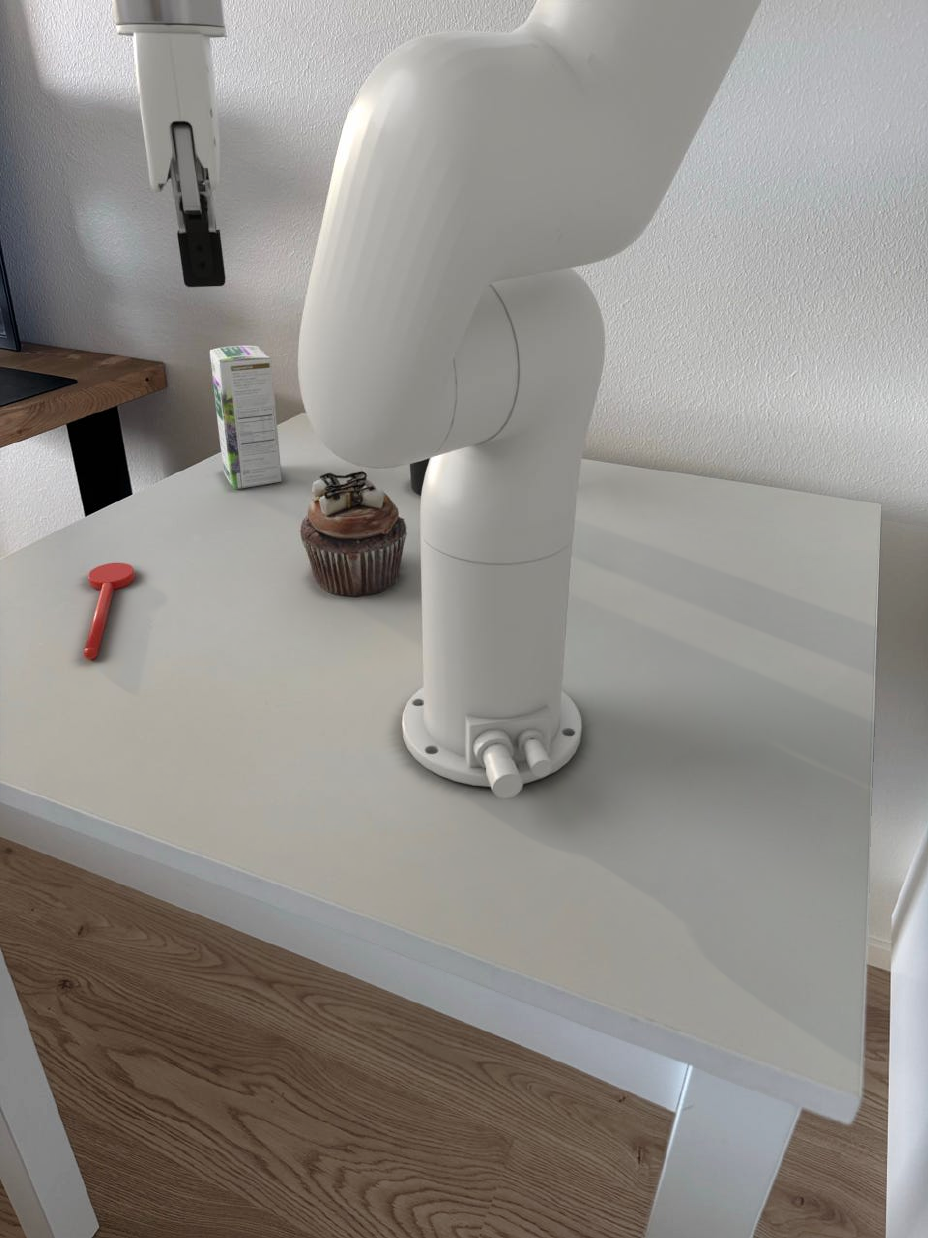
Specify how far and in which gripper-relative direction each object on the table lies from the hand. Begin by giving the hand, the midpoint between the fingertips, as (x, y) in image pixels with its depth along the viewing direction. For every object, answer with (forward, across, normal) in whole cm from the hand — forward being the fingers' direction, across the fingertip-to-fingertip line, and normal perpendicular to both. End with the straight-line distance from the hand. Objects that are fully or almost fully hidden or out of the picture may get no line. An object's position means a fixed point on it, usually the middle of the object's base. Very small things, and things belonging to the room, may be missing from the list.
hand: (205, 284), depth 73 cm
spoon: (+26, +6, -12) cm, 29 cm away
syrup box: (+26, -22, +1) cm, 34 cm away
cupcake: (+26, +5, +10) cm, 28 cm away
